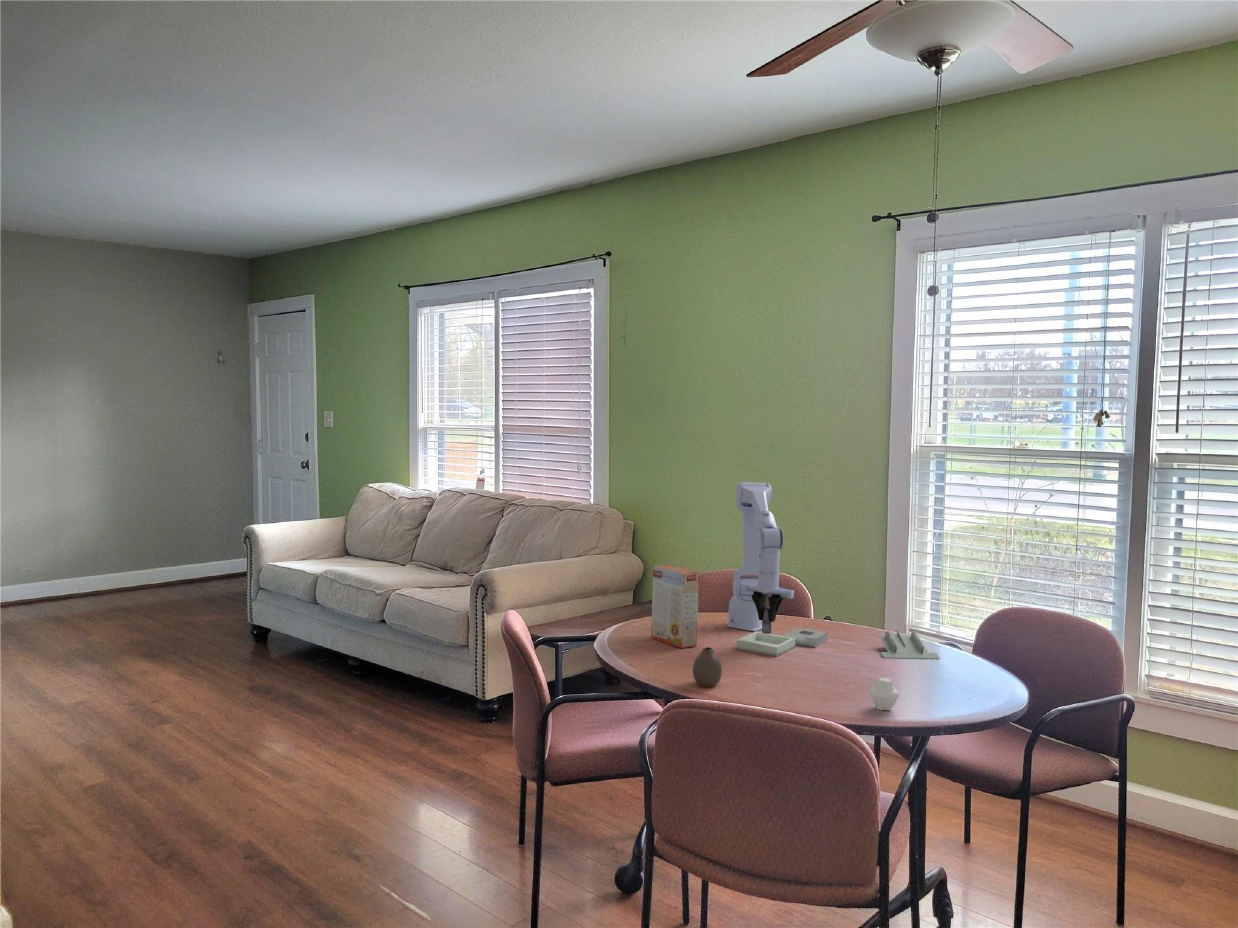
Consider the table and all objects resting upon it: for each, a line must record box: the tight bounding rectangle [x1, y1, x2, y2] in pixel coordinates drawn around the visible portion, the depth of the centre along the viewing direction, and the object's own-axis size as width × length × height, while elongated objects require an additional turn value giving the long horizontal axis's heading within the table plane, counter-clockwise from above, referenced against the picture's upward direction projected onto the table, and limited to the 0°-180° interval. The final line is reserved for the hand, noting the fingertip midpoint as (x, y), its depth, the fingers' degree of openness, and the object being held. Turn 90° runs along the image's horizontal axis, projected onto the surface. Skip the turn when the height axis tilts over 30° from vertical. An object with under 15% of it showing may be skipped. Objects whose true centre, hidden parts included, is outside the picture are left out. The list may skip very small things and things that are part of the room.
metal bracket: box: [878, 630, 941, 661], centre depth 239 cm, size 14×6×15 cm
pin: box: [761, 606, 773, 634], centre depth 240 cm, size 3×3×7 cm
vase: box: [692, 646, 723, 688], centre depth 206 cm, size 7×7×9 cm
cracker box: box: [650, 564, 700, 649], centre depth 243 cm, size 14×6×21 cm, turn 34°
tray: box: [736, 630, 796, 657], centre depth 240 cm, size 12×12×2 cm
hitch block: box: [784, 627, 828, 648], centre depth 248 cm, size 9×9×2 cm
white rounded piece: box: [869, 677, 900, 711], centre depth 192 cm, size 6×6×7 cm
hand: (766, 620), depth 240 cm, fingers closed on pin, 3 cm apart
